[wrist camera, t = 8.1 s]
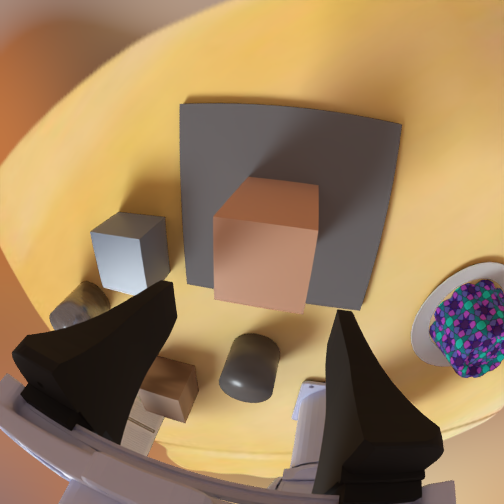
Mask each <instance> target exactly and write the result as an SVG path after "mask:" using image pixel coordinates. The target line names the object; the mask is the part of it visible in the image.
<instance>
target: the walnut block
mask: <svg viewBox="0 0 504 504" xmlns="http://www.w3.org/2000/svg"><path fill="white" fill-rule="evenodd" d="M198 391H199V389H198V384H197V378H196V372H195V366H194V365H190V364H185V363H182V362H178V361H174V360H170V359H166V358H163V357H159V356H157V357H156V359H155V360H154V362H153V364H152V365H151V367H150V369H149V370H148V372H147V374H146V376H145V378H144V380H143V382H142V384H141V387H140V389H139V391H138V395H139V397H140V399H141V402H142V404H143V406H144V408H145V410H146V411H148V412H151V413H154V414H157V415H160V416H163V417H167V418H170V419H173V420H176V421H180V422H183V423H186V420H187V418H188V415H189V413H190V411H191V408H192V406H193V403H194V401H195V399H196V396H197V394H198Z"/></svg>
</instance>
